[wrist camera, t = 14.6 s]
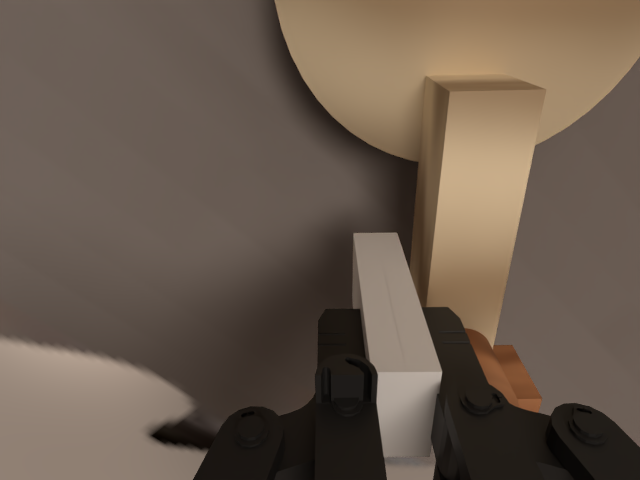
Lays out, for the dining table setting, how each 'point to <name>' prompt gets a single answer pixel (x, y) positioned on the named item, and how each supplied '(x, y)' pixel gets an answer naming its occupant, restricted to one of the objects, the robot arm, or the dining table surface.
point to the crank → (464, 123)
